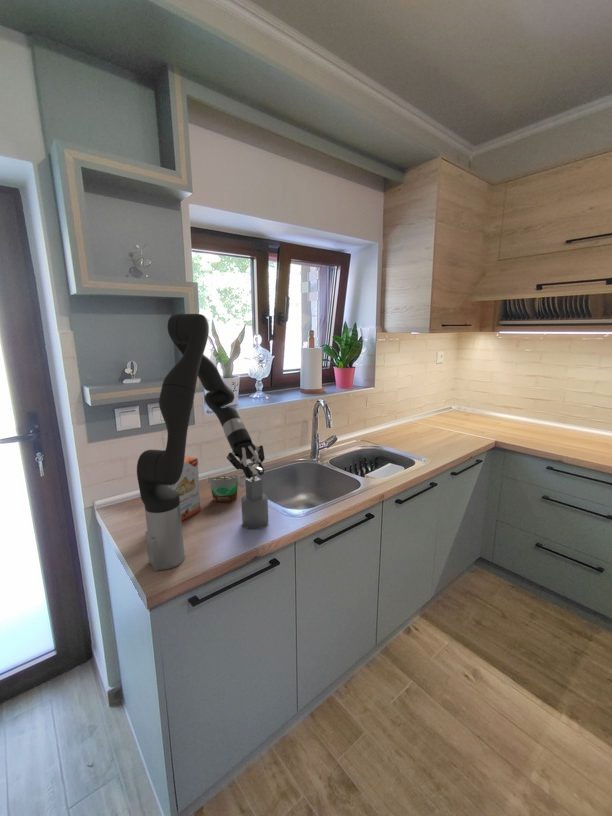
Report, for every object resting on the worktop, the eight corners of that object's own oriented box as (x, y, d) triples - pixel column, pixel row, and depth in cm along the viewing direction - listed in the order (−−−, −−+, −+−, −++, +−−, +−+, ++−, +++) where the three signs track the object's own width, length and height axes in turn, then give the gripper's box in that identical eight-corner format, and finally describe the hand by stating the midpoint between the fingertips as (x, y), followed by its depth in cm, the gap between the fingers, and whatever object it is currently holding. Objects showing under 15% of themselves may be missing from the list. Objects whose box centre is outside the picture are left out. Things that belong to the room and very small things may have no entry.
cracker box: (172, 528, 124) (166, 469, 120) (160, 523, 127) (154, 466, 123) (202, 510, 136) (198, 457, 132) (190, 507, 139) (186, 455, 135)
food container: (209, 507, 139) (208, 482, 137) (209, 500, 144) (207, 476, 143) (242, 502, 142) (241, 478, 140) (240, 496, 148) (239, 472, 146)
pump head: (257, 505, 120) (256, 470, 117) (246, 498, 125) (244, 464, 123) (267, 501, 122) (266, 467, 120) (256, 494, 128) (254, 461, 125)
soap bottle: (251, 532, 120) (249, 486, 117) (237, 521, 127) (235, 478, 124) (273, 523, 126) (272, 479, 123) (259, 513, 133) (257, 472, 130)
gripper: (221, 431, 121) (241, 476, 115) (257, 424, 130) (278, 465, 124) (215, 443, 127) (234, 486, 120) (250, 436, 135) (270, 475, 129)
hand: (256, 475), depth 122 cm, fingers closed on pump head, 4 cm apart
